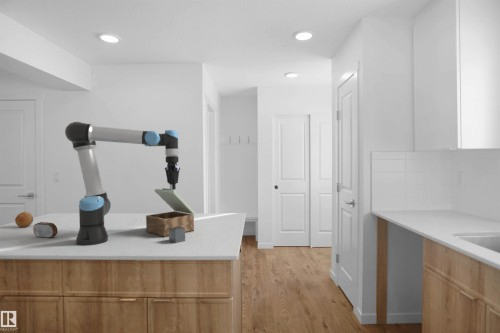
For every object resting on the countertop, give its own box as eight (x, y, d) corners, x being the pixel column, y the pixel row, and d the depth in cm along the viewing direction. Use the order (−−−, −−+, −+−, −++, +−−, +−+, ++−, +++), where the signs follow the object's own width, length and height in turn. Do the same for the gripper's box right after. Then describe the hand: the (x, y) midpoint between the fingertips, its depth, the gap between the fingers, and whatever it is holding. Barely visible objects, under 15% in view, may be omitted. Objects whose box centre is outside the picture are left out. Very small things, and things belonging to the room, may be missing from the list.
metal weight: (175, 243, 160) (175, 229, 160) (169, 241, 164) (168, 228, 164) (185, 241, 164) (185, 227, 164) (178, 239, 168) (178, 226, 168)
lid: (173, 192, 176) (175, 189, 177) (154, 190, 190) (157, 187, 191) (193, 214, 187) (196, 210, 188) (174, 210, 200) (177, 207, 202)
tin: (58, 237, 175) (57, 222, 175) (53, 238, 172) (52, 223, 172) (37, 236, 179) (37, 221, 179) (32, 237, 176) (31, 222, 176)
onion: (17, 226, 207) (16, 211, 207) (34, 225, 212) (34, 210, 211) (13, 229, 199) (12, 213, 198) (31, 227, 203) (31, 212, 203)
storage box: (164, 237, 172) (164, 219, 172) (146, 232, 186) (146, 215, 186) (193, 231, 187) (193, 214, 187) (175, 226, 201) (174, 211, 200)
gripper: (183, 155, 185) (184, 195, 186) (171, 156, 194) (172, 193, 195) (172, 155, 180) (173, 196, 180) (160, 156, 189) (161, 194, 189)
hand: (172, 195), depth 188 cm, fingers closed
